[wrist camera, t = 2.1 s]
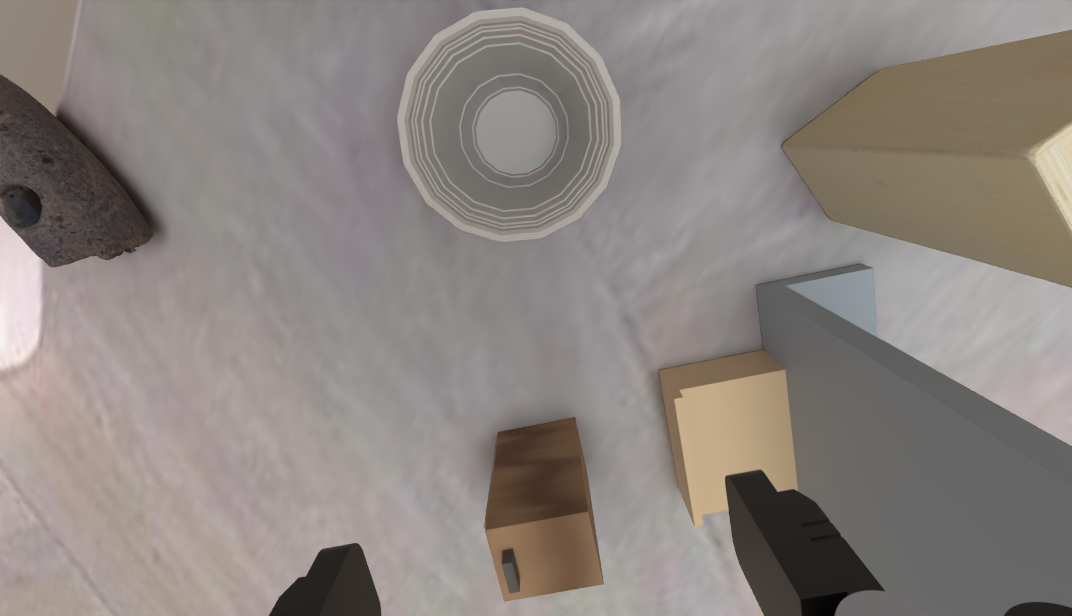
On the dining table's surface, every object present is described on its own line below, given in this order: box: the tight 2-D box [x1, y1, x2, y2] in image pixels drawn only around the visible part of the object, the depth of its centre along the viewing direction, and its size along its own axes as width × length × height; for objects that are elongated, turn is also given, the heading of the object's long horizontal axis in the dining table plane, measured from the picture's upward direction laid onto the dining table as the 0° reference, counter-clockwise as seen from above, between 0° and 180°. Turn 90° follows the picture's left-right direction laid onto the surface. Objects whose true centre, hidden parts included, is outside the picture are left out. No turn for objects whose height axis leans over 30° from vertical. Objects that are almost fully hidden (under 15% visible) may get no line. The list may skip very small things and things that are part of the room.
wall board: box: [659, 264, 1072, 616], centre depth 32 cm, size 15×20×26 cm
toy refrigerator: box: [782, 30, 1072, 288], centre depth 30 cm, size 8×7×21 cm
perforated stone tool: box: [0, 75, 153, 267], centre depth 37 cm, size 15×5×7 cm, turn 32°
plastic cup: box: [397, 7, 621, 242], centre depth 34 cm, size 11×11×12 cm
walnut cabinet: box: [484, 418, 604, 601], centre depth 39 cm, size 6×5×13 cm
